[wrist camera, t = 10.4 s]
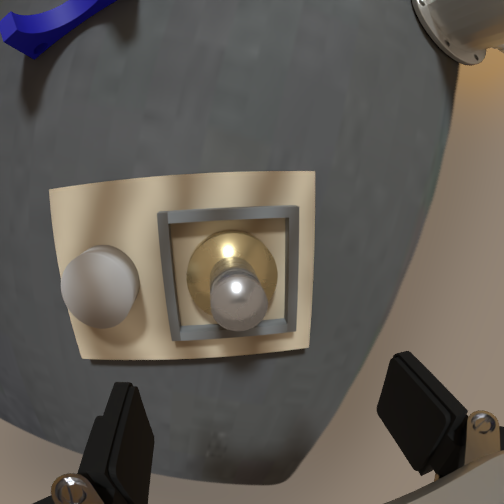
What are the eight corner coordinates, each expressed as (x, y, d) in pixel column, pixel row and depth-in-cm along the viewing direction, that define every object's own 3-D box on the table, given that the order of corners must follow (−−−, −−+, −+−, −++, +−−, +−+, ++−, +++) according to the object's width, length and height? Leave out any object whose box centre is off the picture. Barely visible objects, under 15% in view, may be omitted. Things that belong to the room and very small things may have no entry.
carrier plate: (309, 171, 25) (329, 171, 21) (304, 339, 29) (318, 365, 25) (56, 188, 22) (31, 192, 18) (86, 350, 26) (72, 376, 22)
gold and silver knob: (274, 228, 24) (297, 248, 18) (272, 309, 26) (292, 349, 20) (185, 231, 23) (177, 252, 17) (190, 313, 25) (187, 356, 19)
